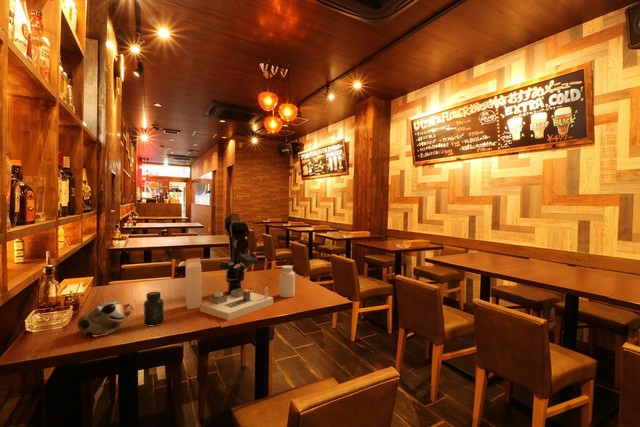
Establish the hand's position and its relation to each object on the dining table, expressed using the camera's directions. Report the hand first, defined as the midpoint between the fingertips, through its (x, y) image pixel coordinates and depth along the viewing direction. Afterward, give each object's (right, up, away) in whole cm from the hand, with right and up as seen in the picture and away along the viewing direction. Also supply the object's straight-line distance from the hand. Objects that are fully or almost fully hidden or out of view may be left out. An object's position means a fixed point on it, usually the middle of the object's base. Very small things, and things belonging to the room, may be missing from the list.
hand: (239, 280), depth 155 cm
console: (+1, -10, -8) cm, 13 cm away
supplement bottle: (-27, -11, -27) cm, 40 cm away
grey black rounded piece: (-41, -12, -34) cm, 55 cm away
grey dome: (0, -7, +1) cm, 7 cm away
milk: (-19, -11, -7) cm, 23 cm away
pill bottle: (+22, -10, +11) cm, 26 cm away
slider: (+5, -7, -8) cm, 12 cm away
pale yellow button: (-7, -5, -9) cm, 13 cm away
